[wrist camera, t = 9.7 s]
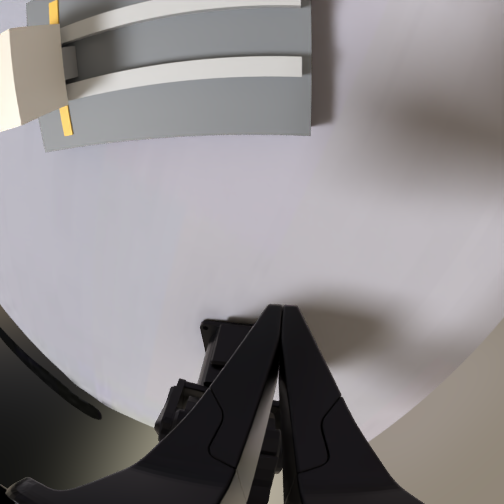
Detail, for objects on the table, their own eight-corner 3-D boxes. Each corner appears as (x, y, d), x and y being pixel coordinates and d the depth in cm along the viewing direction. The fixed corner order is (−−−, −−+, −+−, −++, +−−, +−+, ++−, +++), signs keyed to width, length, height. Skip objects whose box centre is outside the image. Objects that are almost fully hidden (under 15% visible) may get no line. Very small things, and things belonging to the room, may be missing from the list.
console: (308, 127, 17) (311, 141, 15) (62, 142, 19) (36, 158, 17) (306, -51, 11) (308, -68, 9) (45, 3, 13) (16, 3, 11)
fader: (81, 99, 15) (21, 125, 11) (46, 108, 16) (-12, 136, 11) (73, 23, 13) (9, 28, 8) (38, 37, 13) (-25, 49, 9)
